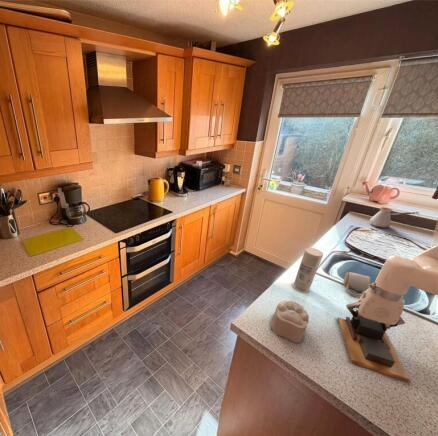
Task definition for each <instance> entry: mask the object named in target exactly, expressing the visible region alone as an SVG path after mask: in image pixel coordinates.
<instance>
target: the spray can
mask: <svg viewBox="0 0 438 436" xmlns="http://www.w3.org/2000/svg"><path fill="white" fill-rule="evenodd" d="M323 256H324V253H323V252H322V251H321V250H319V249H317V248H315V247H305V249H304V252H303V254H302V258H301V261H300V264H299V267H298V270H297V274H296V276H295V279H294V282H293V287H294V289H295V290H297V291H298V292H301V293H308V292H309V291H310V289H311V286H312V284H313V282H314V279H315V276H316V274H317V271H318V268H319V267H320V264H321V261H322V259H323Z"/></svg>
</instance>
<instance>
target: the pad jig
mask: <svg viewBox="0 0 438 436" xmlns="http://www.w3.org/2000/svg"><path fill="white" fill-rule="evenodd" d="M350 321H351V317H350V316H346V317H345V318H341V317H337V322H338V325H339V326H338V327H339V329H340V331H341V334H342V335H341V336H342V338H343V341H344V344H345V346H346V351H347V354H348V357H349V360H350V362H351V363H353V364H356V365H359V366H361V367H364V368H367V369H371V370H373V371H376V372H379V373H382V374H384V375H388V376H391V377H393V378H395V379H399V380H402V381H405V382H410V379H411V378H410V377H409V375H408V372H407V370H406V369H405V367H404V365H403V363H402V362H401V359H400V358H399V356H398V353H397V352H396V350H395V348H394V346H393V344H392V342H391V340H390V338H389V336H388V335H387V332H386V331H385V333H384V335H383V337H382V338H381V340H380V341H379V340H376V339H373V338H369V337H366V336H363V335H360V334H357V333H356V331H355V328H353V326H352V324H351V322H350Z"/></svg>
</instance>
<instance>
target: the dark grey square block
mask: <svg viewBox="0 0 438 436" xmlns="http://www.w3.org/2000/svg"><path fill="white" fill-rule="evenodd" d="M359 320H360V322H359V324H358V326H357V327H356V328H355V331H356V333H357V334H360V335H363V336H366V337H369V338H373V339H376V340H379V341H380V340H381V338H382V337H383V335H384V333H385V332H386V331H385V332H384V330H383V329H382V327H381V325H380V323H379V322H378V321H374V320H371V319H367V318H364V317H362V318H360V319H359Z"/></svg>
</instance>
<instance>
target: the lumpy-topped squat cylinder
mask: <svg viewBox="0 0 438 436" xmlns="http://www.w3.org/2000/svg"><path fill="white" fill-rule="evenodd" d="M309 322H310V319H309V314H308V312H307V311H306V309H305V308H304V307H303V306H302V305H301V304H299V303H298V302H296V301H292V300H283V301H280V302H278V303H277V304H276V307H275V311H274V314H273V317H272V321H271V330H272V331H273V332H274V333H275V334H276V335H278V336H281V337H283V338H286V339H288V340H289V341H291V342H293V343H300V342H301V341H302V340H303V337H304V335H305V332H306V330H307V328H308V325H309Z"/></svg>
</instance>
